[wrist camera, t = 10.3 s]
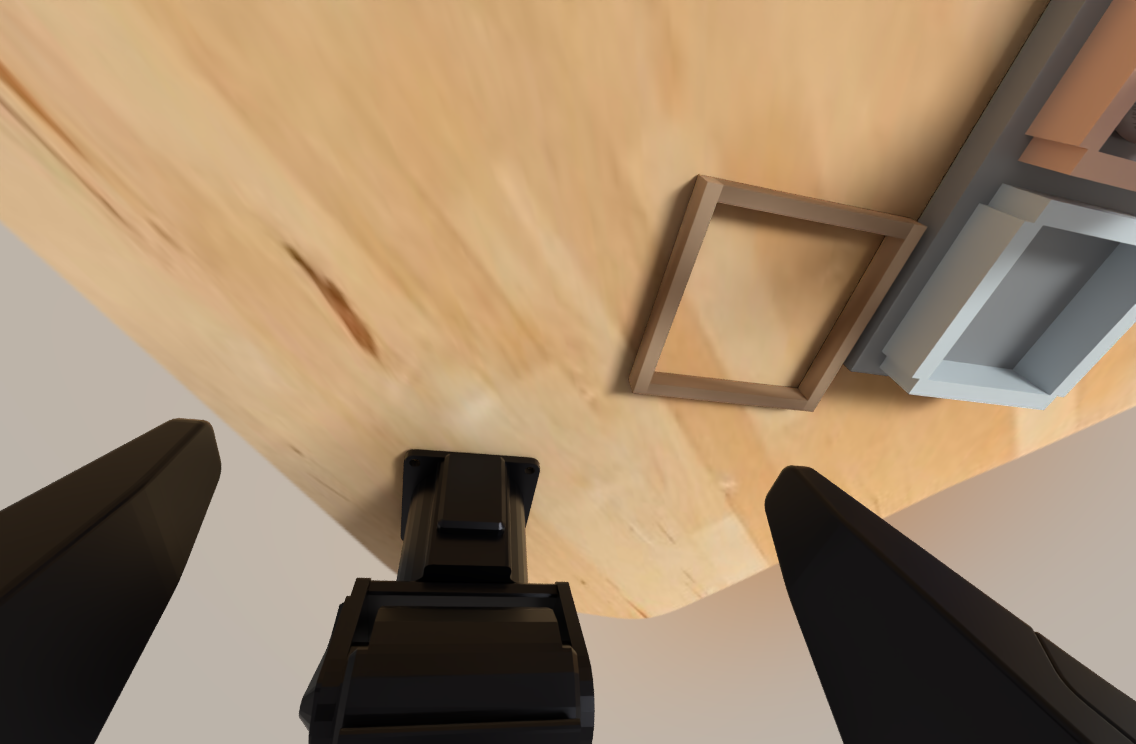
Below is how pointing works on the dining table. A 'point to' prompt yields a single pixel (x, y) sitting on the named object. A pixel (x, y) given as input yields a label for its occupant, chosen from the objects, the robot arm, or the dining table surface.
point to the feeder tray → (843, 334)
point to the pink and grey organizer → (1025, 229)
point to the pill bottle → (1128, 125)
